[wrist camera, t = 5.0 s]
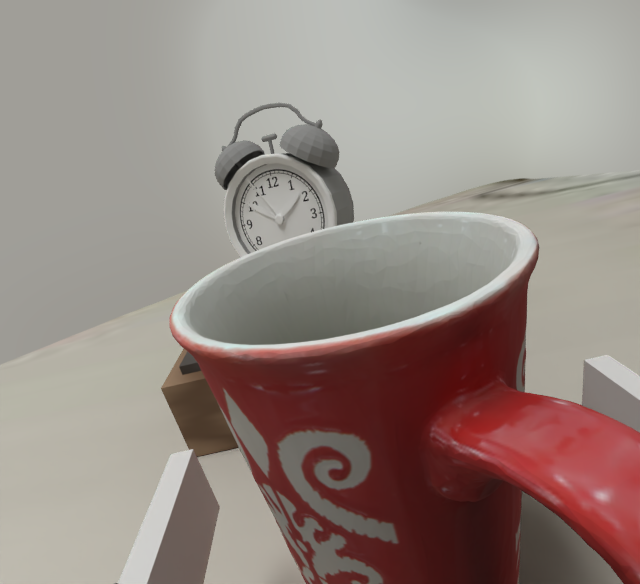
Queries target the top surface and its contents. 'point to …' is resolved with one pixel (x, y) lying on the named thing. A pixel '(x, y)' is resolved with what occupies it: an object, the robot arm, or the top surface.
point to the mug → (405, 402)
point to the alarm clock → (282, 186)
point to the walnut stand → (196, 408)
